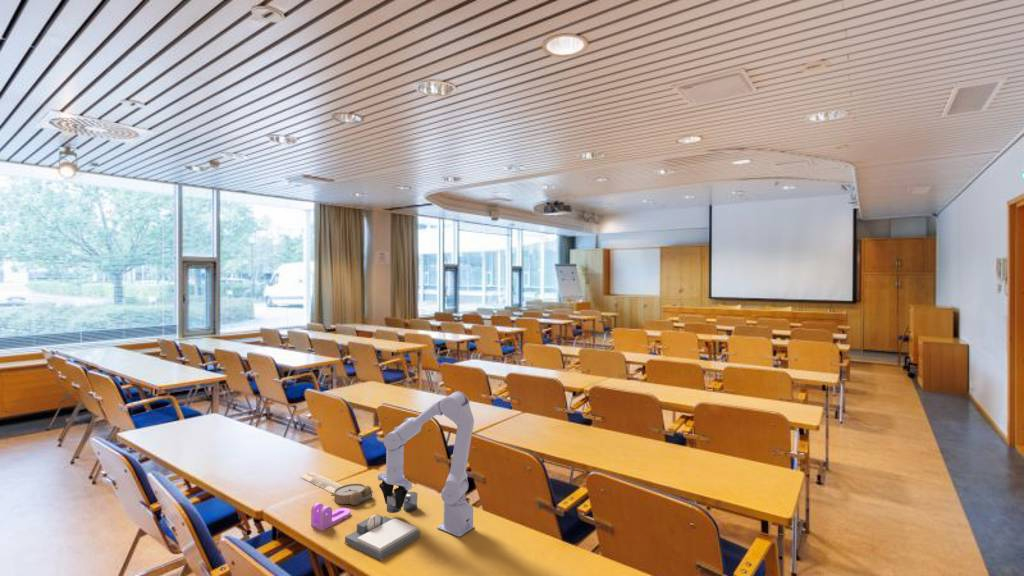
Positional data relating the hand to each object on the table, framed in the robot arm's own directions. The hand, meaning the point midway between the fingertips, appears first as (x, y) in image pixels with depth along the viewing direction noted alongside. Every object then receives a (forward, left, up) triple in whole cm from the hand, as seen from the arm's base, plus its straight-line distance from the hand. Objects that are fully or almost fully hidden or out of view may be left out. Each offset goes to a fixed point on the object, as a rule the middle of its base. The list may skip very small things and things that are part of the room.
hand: (394, 505), depth 167 cm
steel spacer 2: (0, -8, -4) cm, 9 cm away
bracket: (+15, +13, -5) cm, 20 cm away
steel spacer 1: (0, 0, -2) cm, 2 cm away
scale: (-8, +12, -4) cm, 15 cm away
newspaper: (+42, -2, -5) cm, 42 cm away
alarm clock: (+22, -1, -5) cm, 22 cm away
